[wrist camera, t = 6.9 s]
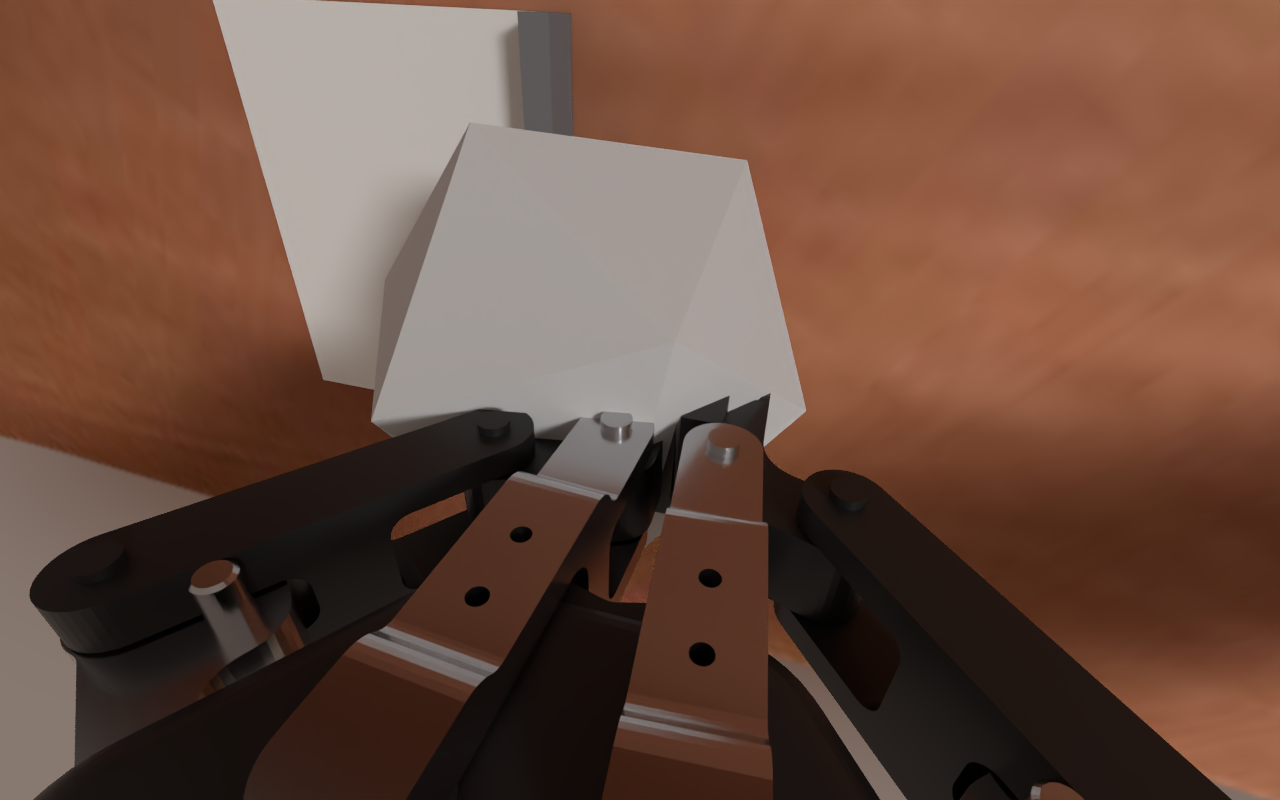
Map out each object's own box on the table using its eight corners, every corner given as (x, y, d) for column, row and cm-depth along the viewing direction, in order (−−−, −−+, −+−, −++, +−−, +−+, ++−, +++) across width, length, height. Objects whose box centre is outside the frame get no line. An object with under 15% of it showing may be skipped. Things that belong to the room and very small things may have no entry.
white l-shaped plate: (570, 13, 15) (548, 12, 14) (578, 424, 22) (564, 447, 21) (219, -5, 17) (174, -7, 16) (328, 376, 25) (302, 394, 23)
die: (570, 191, 19) (213, 236, 12) (830, 61, 13) (388, 2, 6) (643, 439, 21) (363, 600, 14) (906, 433, 14) (628, 723, 8)
